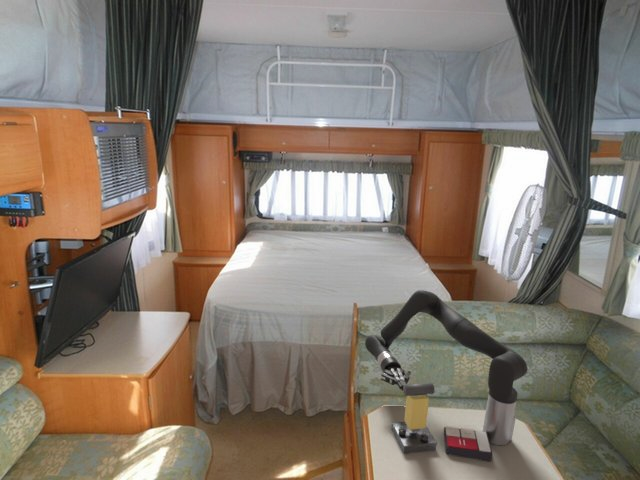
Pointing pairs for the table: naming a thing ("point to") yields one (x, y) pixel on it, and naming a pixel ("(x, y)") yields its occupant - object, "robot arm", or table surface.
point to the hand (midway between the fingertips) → (404, 388)
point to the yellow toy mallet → (417, 405)
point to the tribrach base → (413, 438)
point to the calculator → (467, 443)
